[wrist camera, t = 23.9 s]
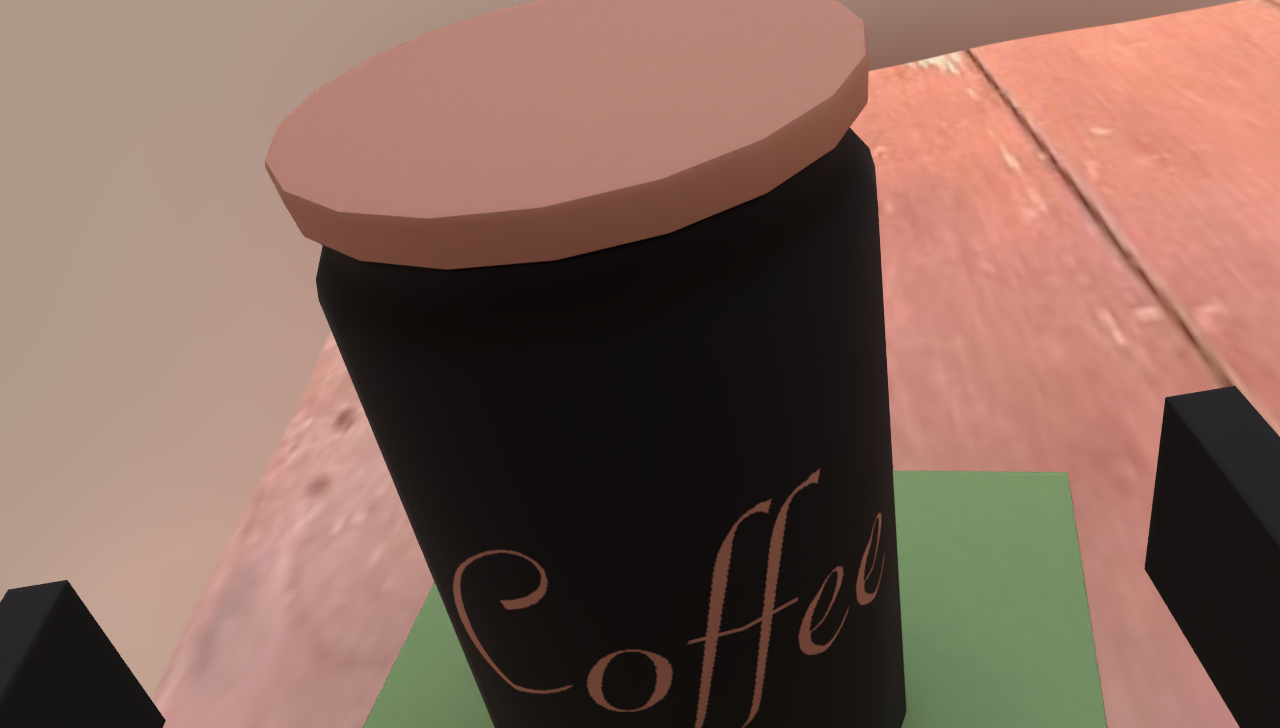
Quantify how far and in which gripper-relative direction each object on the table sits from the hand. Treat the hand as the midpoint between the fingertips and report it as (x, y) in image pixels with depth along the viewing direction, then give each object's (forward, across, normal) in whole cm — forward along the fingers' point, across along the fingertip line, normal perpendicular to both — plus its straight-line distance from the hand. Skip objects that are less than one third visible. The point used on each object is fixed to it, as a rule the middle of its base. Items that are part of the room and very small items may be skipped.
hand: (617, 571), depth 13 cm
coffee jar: (+9, 0, -15) cm, 17 cm away
